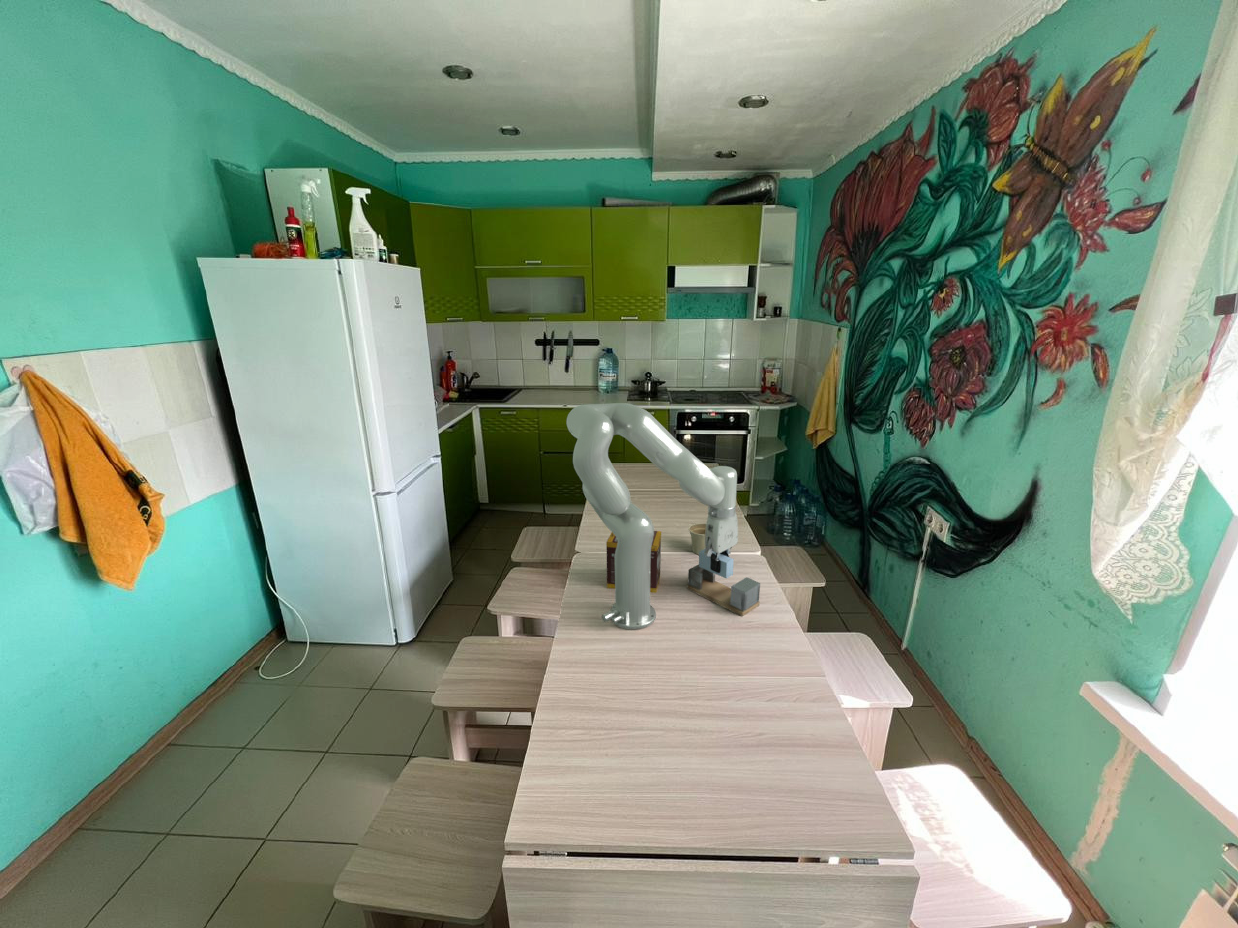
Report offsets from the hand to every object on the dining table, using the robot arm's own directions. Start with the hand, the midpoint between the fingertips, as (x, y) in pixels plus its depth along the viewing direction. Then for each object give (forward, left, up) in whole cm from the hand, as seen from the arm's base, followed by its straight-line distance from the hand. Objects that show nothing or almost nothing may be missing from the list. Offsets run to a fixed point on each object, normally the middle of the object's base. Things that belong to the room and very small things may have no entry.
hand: (719, 568), depth 151 cm
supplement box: (-13, +22, -9) cm, 27 cm away
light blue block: (0, +1, -1) cm, 2 cm away
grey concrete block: (0, -9, -7) cm, 12 cm away
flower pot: (+18, +21, -9) cm, 29 cm away
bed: (0, -2, -9) cm, 9 cm away
